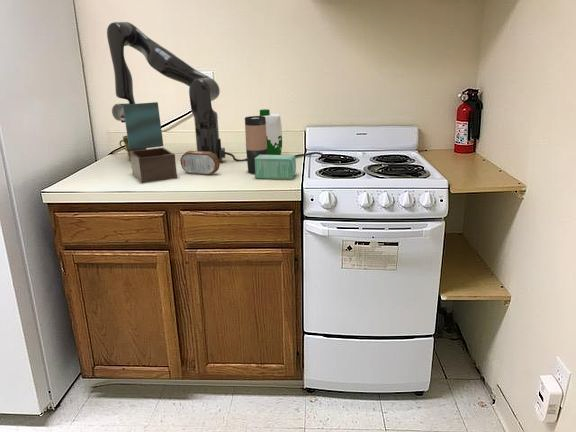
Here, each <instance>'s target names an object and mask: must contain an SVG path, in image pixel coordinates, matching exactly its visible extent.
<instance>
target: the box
mask: <svg viewBox="0 0 576 432" xmlns="http://www.w3.org/2000/svg"><path fill="white" fill-rule="evenodd" d="M296 171H297V161H296V157H295V156H294V155H292V154H291V155H290V154H281V155H258V156H257V157H256V158H255V174H254V178H255V179H267V180H268V179H270V180H271V179H273V180H292V179H293V178H294V176H295V175H296Z"/></svg>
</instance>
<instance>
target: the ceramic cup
mask: <svg viewBox="0 0 576 432" xmlns="http://www.w3.org/2000/svg"><path fill="white" fill-rule="evenodd" d="M122 142H123V143H124V146H125V147H124V146H123V145H122ZM118 145H119V147H121V148H122V149H124V151H126V152H127V155H128V158H129V161H130V162H131V157H130V151H136V150H145V149H147V148H144V149H135V150H129V144H128V137H127V135H124V136H122V139H121V140H120V141H119V144H118Z"/></svg>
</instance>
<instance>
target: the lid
mask: <svg viewBox="0 0 576 432" xmlns="http://www.w3.org/2000/svg"><path fill="white" fill-rule="evenodd" d="M123 110H124V117H125V122H124V124H125V131H126V136H127V137H128V144H129V150H135V149H144V148H146V149H154V148H163V147H164V139H163V131H162V125H161V116H160V108H159V102H158V101H153V102H140V103H136V104H125V105H123Z"/></svg>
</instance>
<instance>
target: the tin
mask: <svg viewBox="0 0 576 432" xmlns="http://www.w3.org/2000/svg"><path fill="white" fill-rule="evenodd" d="M180 165H181V168H182V170H183V171H184V172H185V173H187V174H190V175H203V176H210V175H213V174H215V173H216V172H218V171H219V169H220V163H219V160H218V158H217V156H216V155H215V154H213V153H212V152H204V151H197V150H188V151H186V152H185V153H183V154H182V155H181V157H180Z"/></svg>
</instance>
